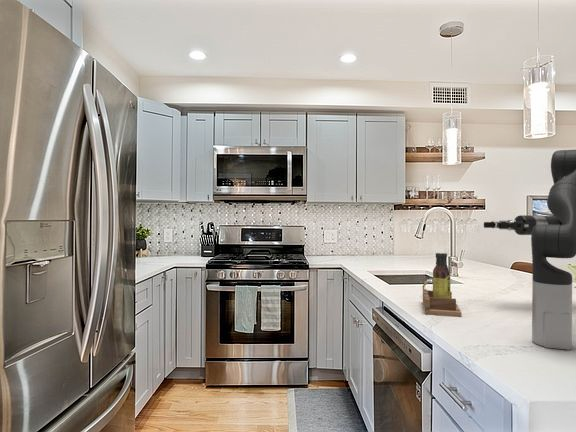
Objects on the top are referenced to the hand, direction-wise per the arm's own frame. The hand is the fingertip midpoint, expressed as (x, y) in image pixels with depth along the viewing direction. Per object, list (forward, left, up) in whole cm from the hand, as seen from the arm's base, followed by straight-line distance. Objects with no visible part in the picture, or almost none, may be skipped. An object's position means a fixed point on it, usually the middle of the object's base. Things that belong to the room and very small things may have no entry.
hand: (491, 225), depth 149 cm
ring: (+17, +20, -32) cm, 42 cm away
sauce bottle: (-5, +18, -31) cm, 36 cm away
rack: (-5, +18, -32) cm, 37 cm away
